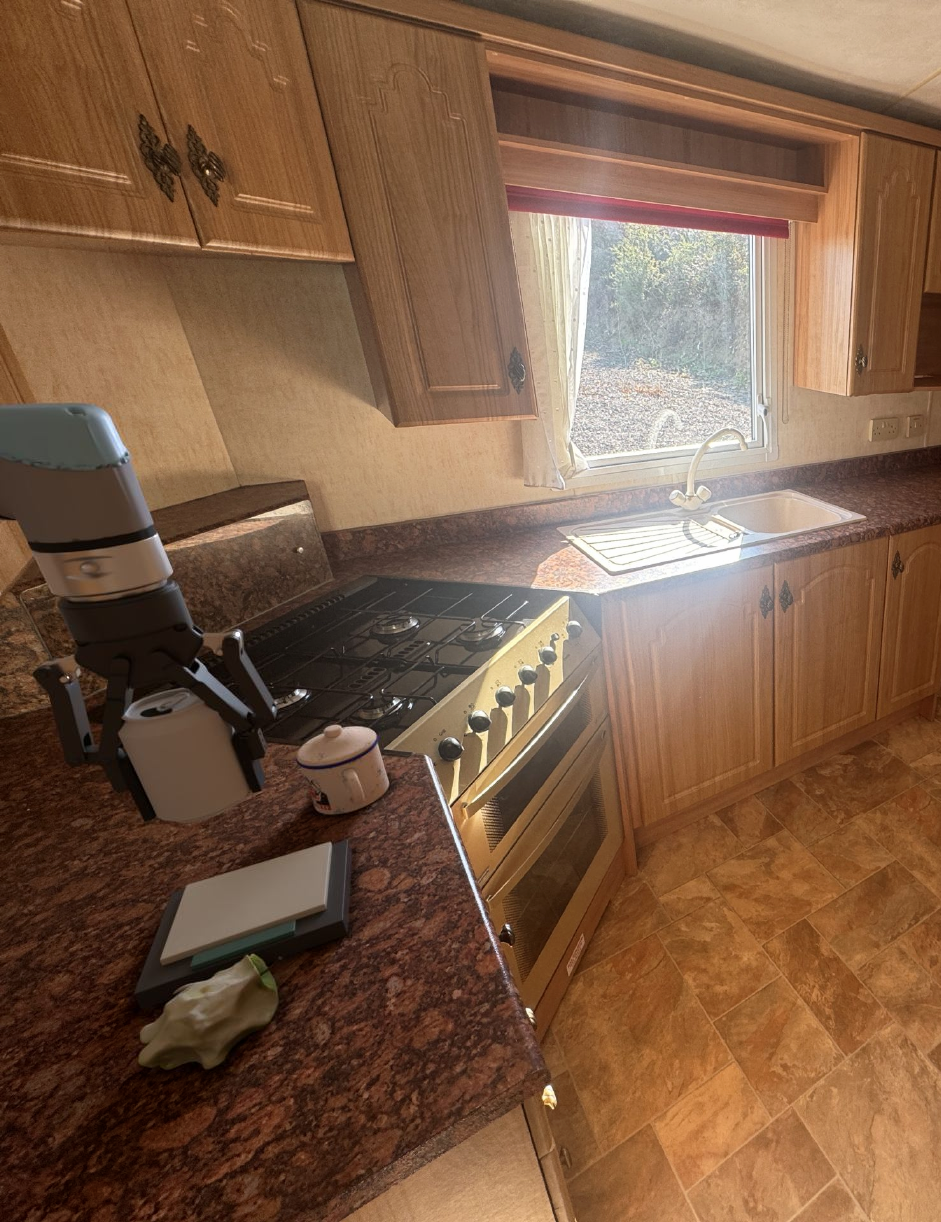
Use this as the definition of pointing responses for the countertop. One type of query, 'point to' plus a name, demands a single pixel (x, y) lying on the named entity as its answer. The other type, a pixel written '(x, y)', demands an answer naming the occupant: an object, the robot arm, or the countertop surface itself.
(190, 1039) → the fruit
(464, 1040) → the countertop surface
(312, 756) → the teacup with lid
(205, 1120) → the countertop surface
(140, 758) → the can
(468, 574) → the countertop surface
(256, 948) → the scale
